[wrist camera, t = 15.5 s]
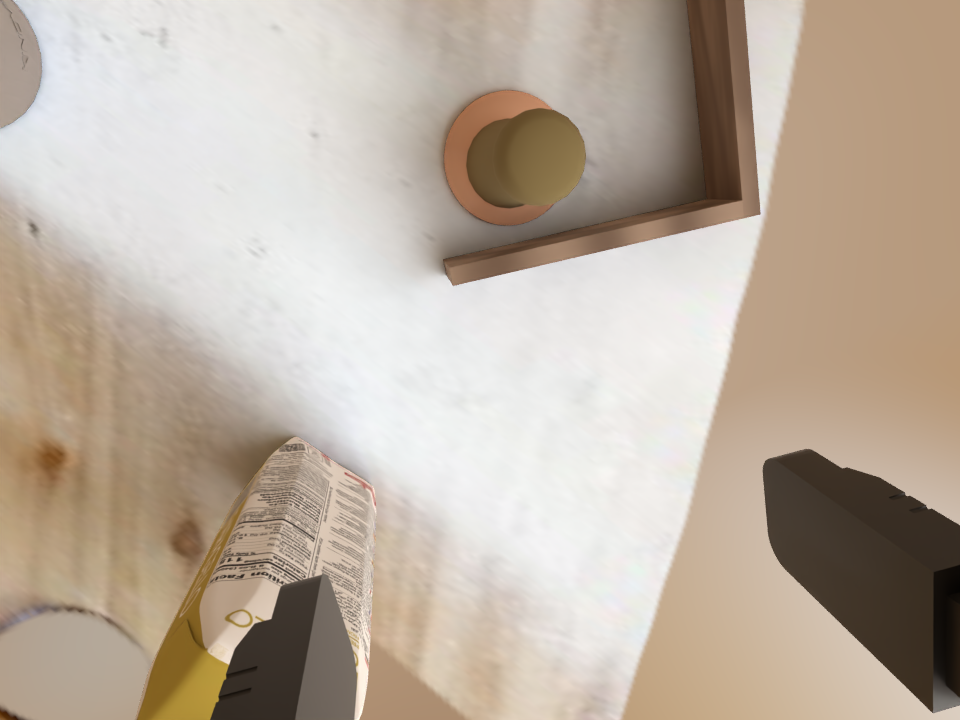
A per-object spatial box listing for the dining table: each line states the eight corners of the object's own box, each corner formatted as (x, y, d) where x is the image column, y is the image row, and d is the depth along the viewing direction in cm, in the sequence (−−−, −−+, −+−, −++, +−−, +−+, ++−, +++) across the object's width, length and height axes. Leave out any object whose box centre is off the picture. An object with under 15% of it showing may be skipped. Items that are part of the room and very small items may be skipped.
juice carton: (230, 496, 48) (81, 778, 25) (291, 418, 47) (193, 638, 24) (331, 556, 50) (279, 864, 28) (391, 484, 49) (388, 740, 27)
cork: (483, 221, 44) (511, 231, 34) (453, 136, 43) (474, 119, 32) (561, 190, 45) (614, 191, 34) (535, 105, 43) (582, 78, 32)
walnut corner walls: (446, 275, 46) (453, 285, 41) (385, 6, 41) (384, -19, 36) (723, 211, 47) (760, 214, 42) (698, -57, 42) (737, -88, 37)
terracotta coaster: (459, 237, 45) (460, 237, 45) (431, 106, 42) (431, 105, 42) (578, 210, 46) (580, 210, 45) (557, 79, 43) (559, 78, 43)
